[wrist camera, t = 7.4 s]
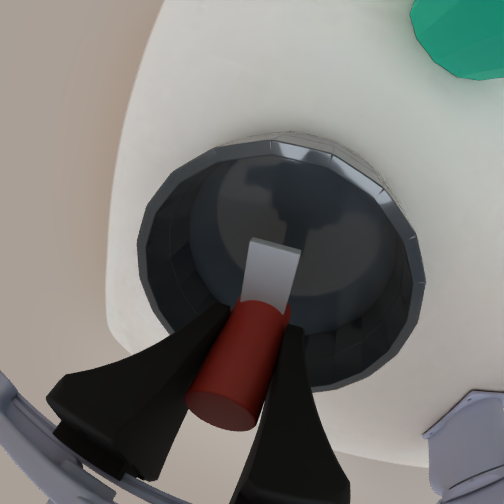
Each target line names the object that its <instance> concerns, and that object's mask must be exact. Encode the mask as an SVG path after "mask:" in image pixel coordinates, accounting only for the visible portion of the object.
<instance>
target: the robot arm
mask: <svg viewBox="0 0 504 504" xmlns="http://www.w3.org/2000/svg"><path fill="white" fill-rule="evenodd" d="M230 307H231V306H229V305H225V304H222V303H219V302H215V303H213V304H212V305H211V306H209V307H208V308H207V309H206V310H205V311H203V312H202V313H201V314H200V315H198V316H197V317H196V318H194V319H193V320H192V321H190V322H189V323H187V324H186V325H185V326H183V327H182V328H180V329H179V330H178V331H176V332H174V333H173V334H171V335H170V336H168V337H166V338H165V339H163V340H162V341H160V342H158V343H156V344H155V345H153V346H151V347H149V348H147V349H145V350H143V351H141V352H139V353H137V354H134V355H132V356H130V357H127V358H125V359H122V360H120V361H117V362H114V363H111V364H108V365H105V366H101V367H98V368H95V369H91V370H86V371H82V372H77V373H72V374H66V375H65V376H64V377H63V378H62V379H61V380H60V381H59V382H58V383H57V384H56V385H55V387H54V388H53V389H52V390H51V391H50V393H49V394H48V395H47V396H46V401H47V403H48V404H49V405H50V407H51V408H52V409H53V411H54V412H55V413H56V414H57V416H58V417H59V418H60V419H61V420H62V421H61V422H60V423H59V425H58V426H56V425H54V424H53V423H52V422H51V421H50V420H48V419H47V418H46V417H45V416H44V415H42V414H41V413H40V412H39V411H38V410H37V409H36V408H35V407H33V406H32V405H31V404H30V403H29V402H28V401H27V400H26V399H25V398H24V397H23V396H22V395H21V394H20V393H19V392H18V390H17V389H16V388H15V386H14V385H13V384H12V383H11V381H10V380H9V379H8V378H7V377H6V376H5V375H4V374H3V373H2V372H1V371H0V445H1V446H2V447H3V448H4V450H5V451H6V452H7V453H8V455H9V456H10V457H11V458H12V459H13V460H14V462H15V463H16V464H17V465H18V466H19V468H20V469H21V470H22V471H23V472H24V473H25V474H26V475H27V476H28V477H29V478H30V480H32V482H33V483H34V484H35V485H36V486H37V487H39V489H41V491H42V492H44V493H45V494H46V495H47V496H48V497H49V498H50V499H49V500H48V502H47V503H46V504H118V503H116V502H114V501H113V498H114V497H115V495H116V491H114V490H113V489H111V488H110V487H108V486H107V485H105V484H104V483H102V482H101V481H99V480H98V479H97V478H95V477H94V476H92V475H91V474H89V473H88V472H86V471H85V470H84V469H83V465H82V463H83V464H84V465H86V466H87V467H89V468H90V469H92V470H93V471H95V472H96V473H98V474H99V475H101V476H103V477H104V478H106V479H108V480H109V481H110V482H112V483H114V484H116V485H117V486H119V487H121V488H122V489H124V490H126V491H128V492H130V493H132V494H133V495H135V496H137V497H139V498H141V499H143V500H145V501H147V502H149V503H151V504H191V503H189V502H186V501H184V500H181V499H179V498H176V497H174V496H172V495H170V494H167V493H165V492H163V491H160V490H158V489H156V488H154V487H152V486H150V485H148V484H146V483H144V482H142V481H140V480H138V479H136V478H137V477H138V478H140V479H142V480H146V481H149V482H151V481H155V480H157V479H158V477H159V475H160V472H161V470H162V468H163V465H164V463H165V460H166V458H167V455H168V453H169V451H170V449H171V446H172V444H173V442H174V439H175V437H176V435H177V433H178V431H179V428H180V426H181V424H182V422H183V420H184V418H185V415H186V413H187V411H188V409H189V408H188V407H187V405H186V403H185V400H184V399H185V394H186V392H187V390H188V388H189V387H190V385H191V383H192V381H193V380H194V378H195V376H196V374H197V372H198V371H199V369H200V367H201V365H202V364H203V362H204V360H205V358H206V356H207V355H208V353H209V351H210V349H211V347H212V346H213V344H214V342H215V340H216V338H217V337H218V335H219V333H220V331H221V329H222V328H223V326H224V324H225V322H226V320H227V319H228V317H229V314H230ZM503 408H504V393H495V392H482V391H472V392H470V393H469V394H468V395H467V396H466V397H465V398H464V399H463V400H462V401H461V402H460V403H459V404H458V405H457V406H456V407H455V408H453V409H452V410H451V411H450V412H449V413H448V414H447V415H446V416H445V417H444V418H443V419H441V420H440V421H439V422H438V423H437V424H436V425H434V426H433V427H432V428H431V429H430V430H429V431H427V432H426V433H425V434H424V435H423V439H428V442H429V481H430V485H431V487H432V489H433V491H435V493H436V494H438V495H441V496H442V499H441V500H439V501H438V502H437V504H504V410H503ZM229 504H350V482H349V480H348V478H347V477H346V475H345V473H344V471H343V470H342V468H341V466H340V464H339V462H338V461H337V458H336V456H335V454H334V452H333V450H332V448H331V446H330V443H329V441H328V439H327V436H326V434H325V432H324V429H323V427H322V424H321V421H320V418H319V415H318V412H317V409H316V406H315V402H314V398H313V394H312V390H311V386H310V381H309V376H308V370H307V364H306V357H305V346H304V329H303V328H302V327H299V326H295V325H292V324H287V327H286V330H285V333H284V337H283V340H282V343H281V347H280V350H279V355H278V359H277V363H276V367H275V370H274V373H273V377H272V380H271V383H270V386H269V389H268V392H267V395H266V398H265V403H264V407H263V411H262V415H261V420H260V424H259V427H258V431H257V433H256V436H255V440H254V442H253V445H252V447H251V450H250V453H249V455H248V458H247V461H246V463H245V466H244V468H243V471H242V473H241V476H240V478H239V481H238V484H237V486H236V488H235V491H234V493H233V496H232V498H231V500H230V503H229Z"/></svg>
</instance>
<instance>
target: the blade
mask: <svg viewBox="0 0 504 504" xmlns="http://www.w3.org/2000/svg"><path fill="white" fill-rule="evenodd" d="M300 255H301V250H299V249H295V248H292V247H288V246H284V245H281V244H277V243H273V242H270V241H266V240H262V239H258V238H255V237H253V238H252V239H251V241H250V243H249V249H248V255H247V262H246V268H245V274H244V281H243V287H242V293H241V295H240V297H239V299H238V300H237V302H236V304H235V306H234V308H233V309H232V311H231V313H230V315H229V317H228V319H227V320H226V322H225V324H224V326H223V328H222V329H221V331H220V333H219V335H218V337H217V338H216V340H215V342H214V344H213V346H212V347H211V349H210V351H209V353H208V355H207V356H206V358H205V360H204V362H203V364H202V365H201V367H200V369H199V371H198V372H197V374H196V376H195V378H194V380H193V381H192V383H191V385H190V387H189V388H188V390H187V392H186V394H185V399H184V400H185V403H186V405H187V407H188V408H189V409H190V411H191V412H192V413H194V414H195V415H196V416H197V417H199V418H200V419H202V420H203V421H205V422H207V423H209V424H211V425H213V426H216V427H219V428H222V429H225V430H230V431H248V430H250V429H252V428H254V427H255V426H256V424H257V422H258V419H259V416H260V413H261V410H262V407H263V404H264V401H265V398H266V395H267V392H268V389H269V386H270V383H271V380H272V377H273V373H274V370H275V367H276V363H277V359H278V355H279V350H280V347H281V343H282V340H283V337H284V333H285V330H286V327H287V324H289V320H290V317H291V309H290V305H289V303H288V298H289V295H290V291H291V288H292V284H293V281H294V277H295V273H296V270H297V266H298V262H299V259H300Z"/></svg>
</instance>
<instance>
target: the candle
mask: <svg viewBox="0 0 504 504" xmlns="http://www.w3.org/2000/svg"><path fill="white" fill-rule="evenodd" d="M410 17H411V20H412V24H413V27H414V31H415V35H416V39H417V40H418V41H419V42H420V44H421V45H422V46H423V47H424V49H425V50H426V51H427V53H428V54H429V55H430V57H431V58H432V59H433V61H434V62H435V63H437V64H439V65H440V66H442V67H443V68H445V69H446V70H448V71H449V72H451V73H452V74H454V75H455V76H456V77H460V78H467V79H474V80H486V79H494V78H502V77H504V0H415V1H414V4H413V7H412V10H411V12H410Z"/></svg>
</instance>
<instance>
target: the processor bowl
mask: <svg viewBox="0 0 504 504" xmlns="http://www.w3.org/2000/svg"><path fill="white" fill-rule="evenodd" d="M253 237H255V238H258V239H262V240H266V241H270V242H273V243H277V244H281V245H284V246H288V247H292V248H295V249H299V250H301V255H300V259H299V262H298V266H297V270H296V273H295V277H294V281H293V284H292V288H291V291H290V295H289V298H288V303H289V305H290V309H291V317H290V320H289V324H292V325H295V326H299V327H302V328H303V329H304V346H305V357H306V364H307V370H308V376H309V381H310V386H311V390H312V393H315V392H323V391H330V390H336V389H339V388H341V387H344V386H347V385H349V384H352V383H354V382H357V381H359V380H362V379H364V378H367V377H368V376H370V375H371V374H373V373H374V372H375V371H377V370H378V369H379V368H381V367H382V366H383V365H385V364H386V363H387V362H388V361H390V360H391V359H392V358H393V357H395V356H396V355H397V354H398V352H399V351H400V349H401V348H402V346H403V345H404V343H405V342H406V340H407V339H408V337H409V336H410V334H411V333H412V331H413V329H414V328H415V326H416V325H417V322H418V319H419V314H420V310H421V305H422V300H423V295H424V290H425V284H426V278H425V272H424V267H423V262H422V257H421V252H420V248H419V243H418V239H417V235H416V233H415V231H414V229H413V227H412V225H411V224H410V222H409V220H408V218H407V217H406V215H405V213H404V211H403V210H402V208H401V206H400V205H399V203H398V201H397V200H396V198H395V197H394V195H393V194H392V192H391V191H390V190H389V188H388V187H387V186H386V184H385V183H384V181H383V180H382V179H381V177H380V176H379V175H378V174H377V172H376V171H375V170H374V168H373V167H372V166H371V165H370V164H369V163H367V162H366V161H364V160H363V159H362V158H361V157H359V156H358V155H356V154H355V153H353V152H352V151H350V150H349V149H347V148H345V147H343V146H341V145H340V144H338V143H336V142H334V141H331V140H328V139H325V138H321V137H318V136H315V135H310V134H304V133H297V132H291V131H289V132H278V133H270V134H263V135H256V136H250V137H247V138H243V139H240V140H237V141H233V142H230V143H227V144H224V145H221V146H217V147H215V148H212V149H210V150H209V151H207V152H205V153H203V154H202V155H200V156H198V157H196V158H195V159H193V160H191V161H189V162H188V163H186V164H184V165H183V166H181V167H179V168H178V169H176V170H174V171H173V172H172V173H171V174H170V175H169V176H168V178H167V179H166V180H165V182H164V183H163V184H162V186H161V187H160V188H159V190H158V191H157V192H156V194H155V195H154V196H153V198H152V199H151V200H150V202H149V203H148V204H147V206H146V210H145V213H144V217H143V220H142V224H141V228H140V231H139V235H138V239H137V254H138V267H139V277H140V280H141V283H142V286H143V288H144V291H145V293H146V296H147V298H148V301H149V303H150V306H151V308H152V310H153V312H154V314H155V315H156V317H157V318H158V319H159V321H160V322H161V324H162V325H163V326H164V328H165V329H166V330H167V332H168V333H169V335H171V334H173V333H174V332H176V331H178V330H179V329H180V328H182V327H183V326H185V325H186V324H187V323H189V322H190V321H192V320H193V319H194V318H196V317H197V316H198V315H200V314H201V313H202V312H203V311H205V310H206V309H207V308H208V307H209V306H211V305H212V304H213V303H215V302H219V303H222V304H225V305H229V306H231V307H230V313H231V311H232V309H233V308H234V306H235V304H236V302H237V300H238V299H239V297H240V295H241V293H242V287H243V281H244V274H245V268H246V262H247V255H248V249H249V243H250V241H251V239H252V238H253ZM229 315H230V314H229Z"/></svg>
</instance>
